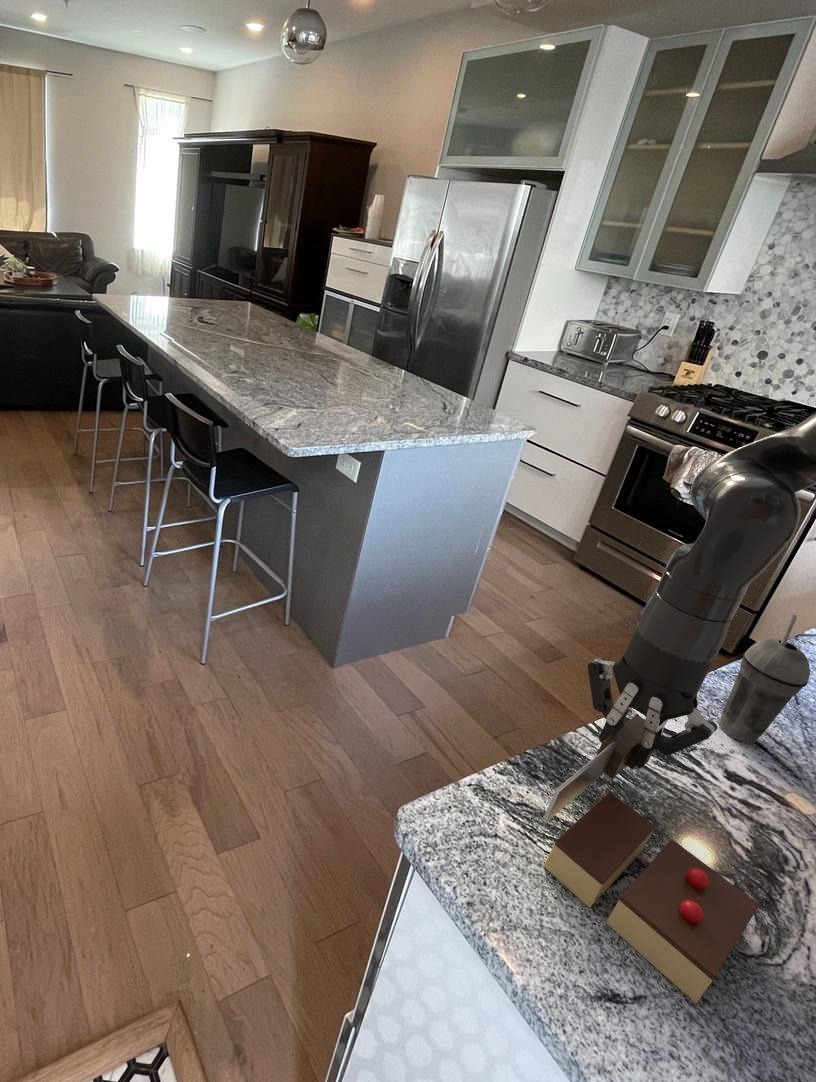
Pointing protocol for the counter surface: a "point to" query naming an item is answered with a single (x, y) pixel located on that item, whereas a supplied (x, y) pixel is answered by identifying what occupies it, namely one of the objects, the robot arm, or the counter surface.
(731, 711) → the beverage cup
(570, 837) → the cake slice
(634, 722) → the knife
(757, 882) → the counter surface
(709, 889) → the sheet cake
